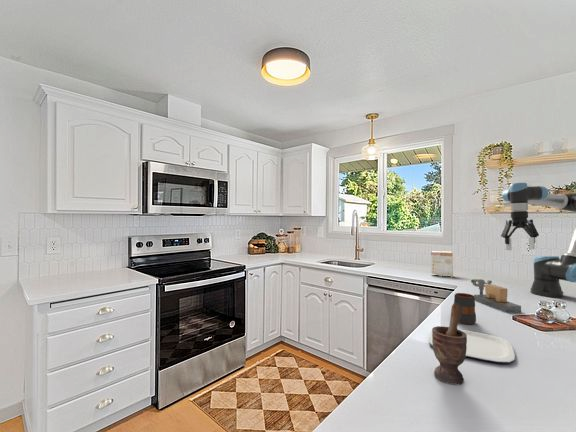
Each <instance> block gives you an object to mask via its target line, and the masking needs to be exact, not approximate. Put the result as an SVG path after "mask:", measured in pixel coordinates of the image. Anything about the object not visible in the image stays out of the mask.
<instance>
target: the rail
mask: <svg viewBox="0 0 576 432" xmlns="http://www.w3.org/2000/svg"><path fill="white" fill-rule="evenodd" d="M473 296H474V297H475V302H478V303H480V304H484V305H486V306H488V307H491V308H494V309H496V310H498V311H502V312H504V313H522V305H519V304H516V303H513V302H511V301H508V300H507V303H498V302H496V299H487V298H486V294H483V295H480V294H473Z"/></svg>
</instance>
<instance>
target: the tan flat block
mask: <svg viewBox="0 0 576 432" xmlns="http://www.w3.org/2000/svg"><path fill="white" fill-rule="evenodd" d="M484 285H485V287H484V290H485V291H484V292H485V295H486V298H487V299H496V302H498V303H507V301H508V288H506V287H502V286H499V285H496V284H493V283H491V284H484Z"/></svg>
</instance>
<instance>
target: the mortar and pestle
mask: <svg viewBox="0 0 576 432" xmlns="http://www.w3.org/2000/svg"><path fill="white" fill-rule="evenodd" d="M450 309H451V310H450V316H449V317H450V318H449V326H443V325H442V326H439V325H438V326H437V325H436V326H434V327H432V330H431V333H432V343H433V346H432V350H433V353H434V356H435V359H436V360H437V361H438V362H439V365H437V366H436V367H435V368H434V371H433V376H434V377H435V378H436V379H437V380H438V381H439V382H442V383H447V384H451V385H461V384H463V383H464V380H465V378H464V375H463V374H462V372H461V371H460V370H459V366H461V365H462V364H463V363H464V362H465V358H466V356H465V355H466V349H467V346H466V344H467V335H466V334H465V333H464V332H462V331H461V330H462V329H460V330H458V329H459V328H458V325H459V324H460V323H459V319H460V317H461V315H462V310H463V306H462V305H461V304H458V303H454V302H453V303H452V306H451V308H450Z"/></svg>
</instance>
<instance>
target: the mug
mask: <svg viewBox="0 0 576 432" xmlns="http://www.w3.org/2000/svg"><path fill="white" fill-rule="evenodd" d="M454 303H458V304H461V305H462V306H463V310H462V315H461V317H460V319H459V323H458V324H462V325H467V326H468V325H470V326H471V325H472V326H473V325H475V324H476V322H477V316H476V315H477V314H476V301H475V297H474V294H469V293H464V292H458V293H454V299H453V304H454Z"/></svg>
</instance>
